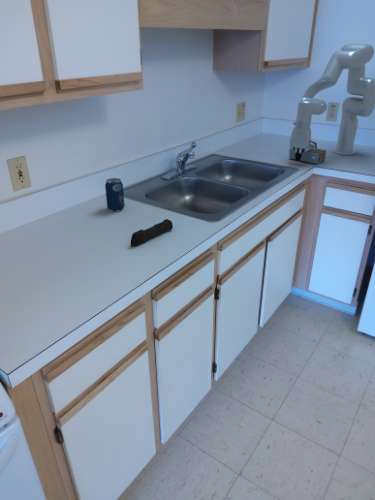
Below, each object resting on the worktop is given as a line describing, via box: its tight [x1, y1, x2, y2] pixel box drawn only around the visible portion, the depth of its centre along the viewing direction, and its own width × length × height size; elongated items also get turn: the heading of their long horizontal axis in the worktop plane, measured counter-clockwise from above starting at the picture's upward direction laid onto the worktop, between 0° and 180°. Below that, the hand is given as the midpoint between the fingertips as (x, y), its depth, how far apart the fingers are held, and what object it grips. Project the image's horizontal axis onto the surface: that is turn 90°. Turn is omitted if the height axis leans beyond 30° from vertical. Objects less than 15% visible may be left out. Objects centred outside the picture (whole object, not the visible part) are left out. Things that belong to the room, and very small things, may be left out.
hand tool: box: [130, 218, 174, 247], centre depth 135 cm, size 19×4×5 cm, turn 138°
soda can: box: [104, 177, 126, 212], centre depth 155 cm, size 7×7×12 cm
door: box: [288, 148, 319, 165], centre depth 216 cm, size 2×17×5 cm, turn 48°
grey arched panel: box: [289, 139, 318, 150], centre depth 233 cm, size 17×5×10 cm, turn 52°
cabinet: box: [290, 147, 327, 165], centre depth 220 cm, size 8×17×6 cm, turn 53°
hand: (297, 159), depth 213 cm, fingers closed
